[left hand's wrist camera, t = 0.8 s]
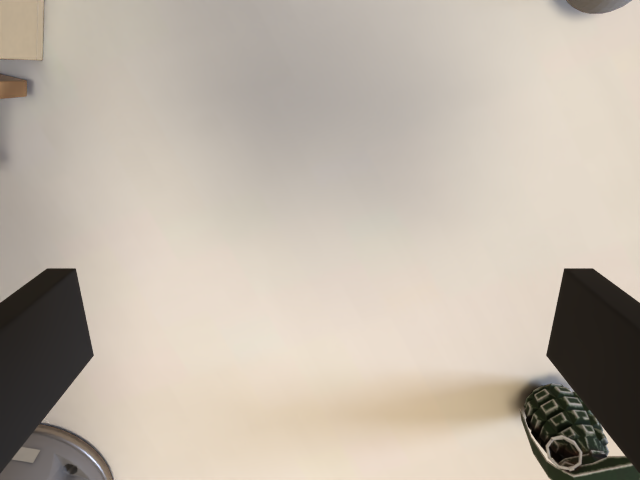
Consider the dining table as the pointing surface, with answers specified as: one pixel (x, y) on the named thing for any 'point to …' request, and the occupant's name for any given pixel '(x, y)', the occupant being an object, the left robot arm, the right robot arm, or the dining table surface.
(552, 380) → the dining table surface
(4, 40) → the tan cardboard box
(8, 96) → the drawer
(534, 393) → the grenade
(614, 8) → the molecular model
